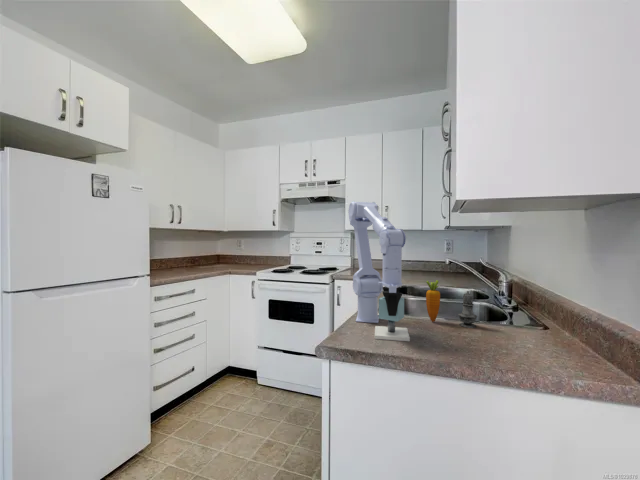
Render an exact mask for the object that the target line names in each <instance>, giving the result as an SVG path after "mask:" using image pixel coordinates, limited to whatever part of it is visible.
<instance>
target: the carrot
mask: <svg viewBox="0 0 640 480" xmlns="http://www.w3.org/2000/svg"><path fill="white" fill-rule="evenodd" d="M439 283H440V282H439V280H437V279H436V280H435V281H433V282H432V281H431V282H429V281H428V280H427V281H426V285H428V288H429V289H428V290H427V291H426V294H425V302H426V303H425V304H426V305H425V306H426V310H427V314H428V318H429V319H430V322H432V323H434V322H435V321H436V319H437V317H438V315H439V310H440V305H441V292H440V291H439V290H437V289H438V288H439V285H438V284H439Z"/></svg>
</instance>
